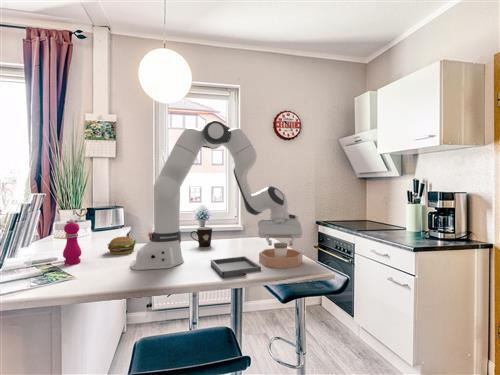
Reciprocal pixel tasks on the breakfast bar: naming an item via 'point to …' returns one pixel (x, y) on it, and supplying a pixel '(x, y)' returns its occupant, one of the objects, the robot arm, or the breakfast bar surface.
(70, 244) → the pepper mill
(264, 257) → the bowl
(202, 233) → the coffee mug
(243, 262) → the tray
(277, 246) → the spice jar
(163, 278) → the breakfast bar surface
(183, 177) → the robot arm
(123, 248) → the food
